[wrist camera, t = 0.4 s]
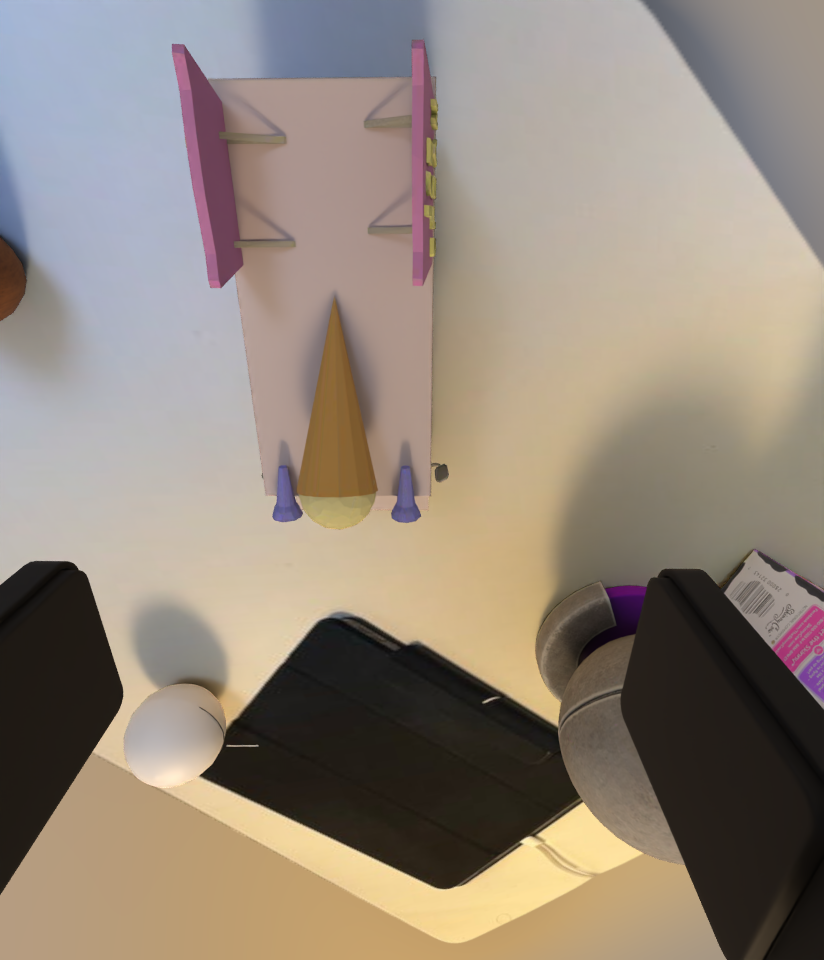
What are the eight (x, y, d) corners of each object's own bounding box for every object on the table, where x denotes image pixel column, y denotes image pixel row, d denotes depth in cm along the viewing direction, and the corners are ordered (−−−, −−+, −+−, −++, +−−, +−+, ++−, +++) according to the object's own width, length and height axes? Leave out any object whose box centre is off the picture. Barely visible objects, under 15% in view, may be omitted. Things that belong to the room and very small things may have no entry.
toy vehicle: (304, 475, 35) (228, 627, 21) (269, 130, 26) (108, 14, 13) (441, 476, 35) (453, 628, 21) (448, 129, 26) (477, 10, 13)
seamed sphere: (146, 714, 45) (97, 797, 38) (158, 653, 42) (108, 731, 35) (258, 742, 46) (231, 828, 39) (278, 685, 43) (252, 767, 36)
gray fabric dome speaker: (736, 614, 39) (905, 813, 26) (639, 721, 44) (736, 936, 31) (590, 554, 37) (689, 737, 23) (505, 674, 42) (546, 882, 28)
